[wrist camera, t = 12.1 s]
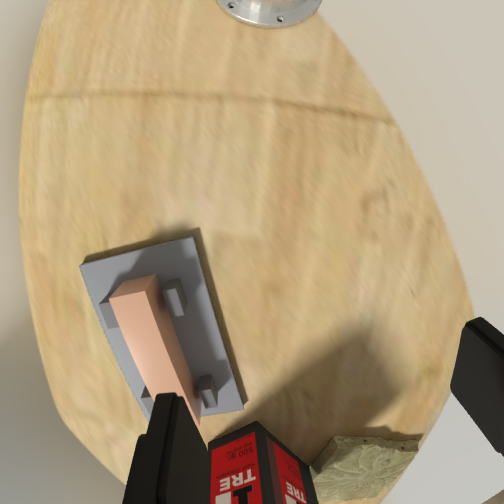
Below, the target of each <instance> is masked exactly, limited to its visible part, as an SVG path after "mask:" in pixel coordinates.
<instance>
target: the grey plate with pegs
mask: <svg viewBox="0 0 504 504" xmlns="http://www.w3.org/2000/svg"><path fill="white" fill-rule="evenodd" d="M79 268H80V271H81V274H82V276H83V279H84V282H85V285H86V288H87V291H88V293H89V296H90V299H91V301H92V304H93V307H94V309H95V312H96V314H97V317H98V319H99V322H100V324H101V326H102V329H103V331H104V334H105V336H106V338H107V340H108V343H109V345H110V347H111V349H112V352H113V354H114V356H115V358H116V360H117V362H118V365H119V367H120V369H121V371H122V373H123V375H124V377H125V379H126V381H127V383H128V385H129V387H130V389H131V391H132V393H133V395H134V397H135V398H136V400H137V402H138V404H139V406H140V408H141V410H142V411H143V413H144V415H145V417H146V419H147V420H148V422H149V421H150V417H151V413H152V409H153V405H154V401H153V399H152V397H151V395H150V393H149V391H148V389H147V387H146V385H145V383H144V381H143V379H142V377H141V374H140V372H139V370H138V368H137V366H136V364H135V362H134V359H133V357H132V355H131V353H130V350H129V348H128V346H127V343H126V341H125V339H124V336H123V334H122V331H121V329H120V327H119V324H118V322H117V319H116V317H115V314H114V311H113V309H112V306H111V303H110V301H109V298H110V297H111V295H112V294H113V293H114V292H115V291H116V290H117V288H118V287H119V286H120V285H121V284H122V283H123V281H127V280H132V279H136V278H140V277H145V276H149V275H154V274H156V275H157V278H158V282H159V285H160V288H161V291H162V294H163V297H164V300H165V303H166V306H167V309H168V312H169V315H170V318H171V321H172V323H173V326H174V329H175V332H176V335H177V337H178V340H179V343H180V346H181V348H182V351H183V354H184V356H185V359H186V361H187V364H188V367H189V369H190V372H191V374H192V377H193V379H194V382H195V384H196V387H197V389H198V392H199V394H200V397H201V399H202V405H201V416H209V415H216V414H222V413H228V412H234V411H240V410H244V404H243V401H242V398H241V395H240V392H239V389H238V386H237V383H236V380H235V377H234V374H233V371H232V367H231V364H230V361H229V358H228V355H227V351H226V348H225V345H224V341H223V338H222V335H221V331H220V328H219V325H218V321H217V318H216V315H215V311H214V308H213V304H212V301H211V297H210V294H209V290H208V286H207V283H206V279H205V276H204V272H203V268H202V265H201V261H200V257H199V253H198V250H197V246H196V242H195V238H194V236H189V237H185V238H181V239H177V240H173V241H169V242H164V243H160V244H156V245H152V246H148V247H144V248H140V249H136V250H132V251H128V252H124V253H120V254H116V255H112V256H109V257H105V258H101V259H97V260H93V261H89V262H86V263H82V264H81V265H79ZM201 416H200V417H201Z"/></svg>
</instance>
